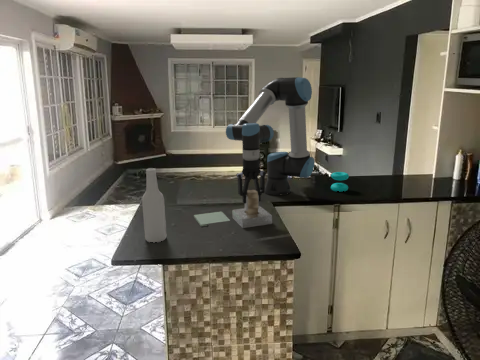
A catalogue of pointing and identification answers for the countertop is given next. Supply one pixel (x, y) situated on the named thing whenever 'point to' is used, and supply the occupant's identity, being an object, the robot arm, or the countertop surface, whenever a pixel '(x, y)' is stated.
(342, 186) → the donuts
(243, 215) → the hole block
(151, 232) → the alcohol
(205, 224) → the pad
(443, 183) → the countertop surface
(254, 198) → the square peg
